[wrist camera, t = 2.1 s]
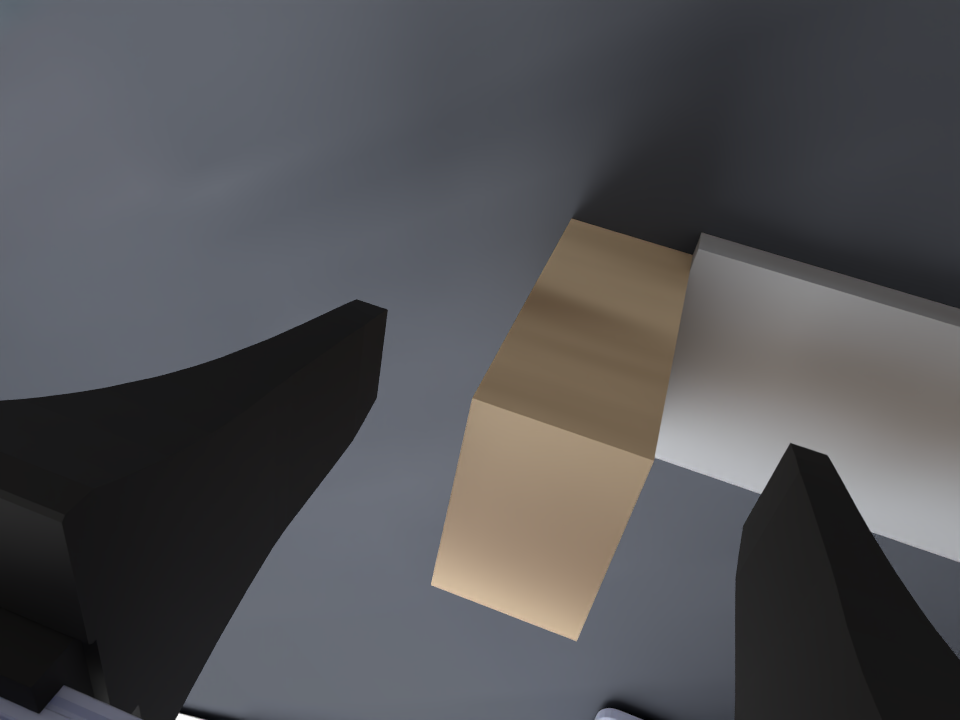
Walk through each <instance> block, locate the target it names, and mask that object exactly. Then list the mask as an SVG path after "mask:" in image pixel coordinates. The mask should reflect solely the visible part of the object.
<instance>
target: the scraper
mask: <svg viewBox="0 0 960 720" xmlns="http://www.w3.org/2000/svg"><path fill="white" fill-rule="evenodd" d="M790 443H792V444H796V445H799V446H802V447H805V448H808V449H811V450H814V451H817V452H820V453H823V454H826V455H828V457H829V458H830V460H831V462H832V463H833V465H834V467H835V469H836V470H837V472H838V474H839V476H840V478H841V479H842V481H843V483H844V485H845V487H846V489H847V490H848V492H849V494H850V496H851V498H852V499H853V501H854V503H855V505H856V507H857V508H858V510H859V512H860V514H861V516H862V517H863V519H864V521H865V523H866V524H867V526H868V528H869V529H870V531H871V532H873V533H876V534H879V535H882V536H885V537H888V538H891V539H893V540H896V541H899V542H902V543H905V544H908V545H911V546H914V547H917V548H920V549H923V550H926V551H928V552H931V553H934V554H937V555H940V556H943V557H946V558H949V559H952V560H955V561H958V562H960V309H958V308H955V307H951V306H948V305H945V304H941V303H938V302H935V301H931V300H928V299H924V298H921V297H918V296H914V295H911V294H908V293H904V292H901V291H897V290H894V289H891V288H887V287H884V286H881V285H877V284H874V283H870V282H867V281H864V280H860V279H857V278H854V277H850V276H847V275H843V274H840V273H837V272H833V271H830V270H827V269H823V268H820V267H816V266H813V265H810V264H806V263H803V262H800V261H796V260H793V259H789V258H786V257H783V256H779V255H776V254H773V253H769V252H766V251H762V250H759V249H756V248H752V247H749V246H746V245H742V244H739V243H735V242H732V241H729V240H725V239H722V238H719V237H715V236H712V235H708V234H705V233H702V232H701V235H700V238H699V240H698V243H697V245H696V248H695V251H694V253H693V255H691V254H688V253H684V252H681V251H678V250H674V249H671V248H668V247H664V246H661V245H658V244H654V243H651V242H648V241H644V240H641V239H638V238H634V237H631V236H628V235H625V234H621V233H618V232H615V231H611V230H608V229H605V228H601V227H598V226H595V225H591V224H588V223H585V222H581V221H578V220H575V219H571V220H570V222H569V224H568V226H567V228H566V229H565V231H564V233H563V235H562V237H561V238H560V240H559V242H558V244H557V246H556V247H555V249H554V251H553V253H552V255H551V257H550V258H549V260H548V262H547V264H546V266H545V267H544V269H543V271H542V273H541V275H540V276H539V278H538V280H537V282H536V284H535V286H534V287H533V289H532V291H531V293H530V295H529V296H528V298H527V300H526V302H525V304H524V305H523V307H522V309H521V311H520V313H519V315H518V316H517V318H516V320H515V322H514V324H513V325H512V327H511V329H510V331H509V333H508V334H507V336H506V338H505V340H504V342H503V344H502V345H501V347H500V349H499V351H498V353H497V354H496V356H495V358H494V360H493V362H492V363H491V365H490V367H489V369H488V371H487V373H486V374H485V376H484V378H483V380H482V382H481V383H480V385H479V387H478V389H477V391H476V392H475V394H474V396H473V398H472V402H471V407H470V411H469V416H468V420H467V425H466V429H465V434H464V438H463V443H462V447H461V452H460V456H459V461H458V465H457V470H456V474H455V479H454V483H453V488H452V492H451V497H450V501H449V506H448V510H447V515H446V519H445V524H444V528H443V533H442V537H441V542H440V546H439V551H438V555H437V560H436V564H435V569H434V573H433V578H432V582H431V585H432V586H435V587H438V588H440V589H443V590H445V591H448V592H451V593H453V594H456V595H458V596H461V597H464V598H466V599H469V600H471V601H474V602H476V603H479V604H482V605H484V606H487V607H489V608H492V609H495V610H497V611H500V612H502V613H505V614H508V615H510V616H513V617H515V618H518V619H521V620H523V621H526V622H528V623H531V624H533V625H536V626H539V627H541V628H544V629H546V630H549V631H552V632H554V633H557V634H559V635H562V636H565V637H567V638H570V639H572V640H575V641H577V639H578V637H579V634H580V632H581V630H582V627H583V625H584V623H585V620H586V618H587V616H588V613H589V611H590V609H591V606H592V604H593V602H594V599H595V597H596V595H597V592H598V590H599V588H600V585H601V583H602V581H603V578H604V576H605V574H606V571H607V569H608V567H609V564H610V562H611V560H612V557H613V555H614V553H615V550H616V548H617V546H618V543H619V541H620V539H621V536H622V534H623V532H624V529H625V527H626V525H627V522H628V520H629V518H630V515H631V513H632V511H633V508H634V506H635V504H636V501H637V499H638V497H639V494H640V492H641V490H642V487H643V485H644V483H645V480H646V478H647V476H648V473H649V471H650V469H651V466H652V464H653V462H654V458H658V459H661V460H664V461H666V462H669V463H672V464H675V465H678V466H681V467H684V468H687V469H690V470H693V471H696V472H698V473H701V474H704V475H707V476H710V477H713V478H716V479H719V480H722V481H725V482H728V483H730V484H733V485H736V486H739V487H742V488H745V489H748V490H751V491H754V492H757V493H760V494H762V492H763V490H764V488H765V487H766V485H767V483H768V481H769V479H770V478H771V476H772V474H773V472H774V471H775V469H776V467H777V465H778V464H779V462H780V460H781V458H782V456H783V455H784V453H785V451H786V449H787V448H788V446H789V444H790Z"/></svg>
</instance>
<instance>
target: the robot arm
mask: <svg viewBox="0 0 960 720" xmlns="http://www.w3.org/2000/svg"><path fill="white" fill-rule="evenodd" d="M387 311H388V310H387V309H384V308H381V307H378V306H375V305H372V304H369V303H366V302H363V301H360V300H357V299H356V300H354V301H352V302H349V303H347V304H345V305H342V306H340V307H338V308H336V309H334V310H332V311H329V312H327V313H325V314H323V315H321V316H319V317H317V318H315V319H312V320H310V321H308V322H306V323H304V324H301V325H299V326H297V327H295V328H292V329H290V330H288V331H286V332H284V333H281V334H279V335H277V336H275V337H272V338H270V339H268V340H265V341H262V342H260V343H257V344H255V345H252V346H250V347H247V348H244V349H242V350H239V351H237V352H234V353H232V354H229V355H226V356H224V357H221V358H218V359H215V360H212V361H209V362H206V363H203V364H200V365H197V366H194V367H190V368H187V369H183V370H180V371H176V372H173V373H169V374H165V375H162V376H158V377H153V378H149V379H144V380H139V381H135V382H130V383H125V384H121V385H116V386H111V387H107V388H101V389H96V390H89V391H83V392H77V393H70V394H62V395H54V396H47V397H38V398H29V399H18V400H3V401H0V720H176V718H177V716H178V714H179V712H180V710H181V708H182V706H183V704H184V703H185V701H186V699H187V697H188V695H189V693H190V691H191V689H192V687H193V685H194V684H195V682H196V680H197V678H198V676H199V674H200V673H201V671H202V669H203V667H204V665H205V663H206V662H207V660H208V658H209V656H210V654H211V653H212V651H213V649H214V647H215V645H216V643H217V642H218V640H219V638H220V636H221V634H222V633H223V631H224V629H225V627H226V626H227V624H228V622H229V620H230V619H231V617H232V615H233V614H234V612H235V610H236V608H237V607H238V605H239V603H240V601H241V600H242V598H243V596H244V594H245V593H246V591H247V589H248V588H249V586H250V584H251V583H252V581H253V579H254V578H255V576H256V574H257V573H258V571H259V569H260V568H261V566H262V564H263V563H264V561H265V560H266V558H267V556H268V555H269V553H270V551H271V550H272V548H273V546H274V545H275V544H276V542H277V541H278V539H279V538H280V536H281V535H282V533H283V532H284V531H285V529H286V528H287V526H288V525H289V524H290V522H291V521H292V520H293V518H294V517H295V516H296V515H297V513H298V512H299V511H300V509H301V508H302V507H303V505H304V504H305V503H306V502H307V500H308V499H309V498H310V496H311V495H312V494H313V492H314V491H315V490H316V488H317V487H318V486H319V485H320V483H321V482H322V481H323V479H324V478H325V477H326V475H327V474H328V473H329V472H330V470H331V469H332V468H333V466H334V465H335V464H336V462H337V461H338V460H339V458H340V457H341V456H342V454H343V453H344V452H345V450H346V449H347V448H348V446H349V445H350V443H351V442H352V441H353V439H354V437H355V436H356V434H357V432H358V431H359V429H360V427H361V425H362V424H363V422H364V420H365V418H366V416H367V415H368V413H369V411H370V409H371V407H372V405H373V404H374V402H375V400H376V398H377V392H378V384H379V376H380V368H381V359H382V351H383V343H384V335H385V327H386V319H387ZM595 720H643V719H640V718H638V717H635V716H633V715H630V714H628V713H625V712H623V711H620V710H617V709H613V708H605V709H602V710H600V711H599V712H598V714H597V716H596V718H595ZM735 720H960V660H959V659H958V657H957V656H956V655H955V654H954V652H953V651H952V650H951V649H950V647H949V646H948V645H947V643H946V642H945V641H944V640H943V638H942V637H941V636H940V635H939V633H938V632H937V631H936V630H935V628H934V627H933V625H932V624H931V623H930V621H929V620H928V619H927V617H926V616H925V615H924V613H923V612H922V610H921V609H920V608H919V606H918V605H917V603H916V602H915V600H914V599H913V597H912V596H911V594H910V593H909V591H908V590H907V588H906V587H905V586H904V584H903V583H902V581H901V580H900V578H899V577H898V575H897V574H896V572H895V570H894V569H893V567H892V566H891V564H890V563H889V561H888V559H887V558H886V556H885V555H884V553H883V551H882V550H881V548H880V546H879V545H878V543H877V541H876V540H875V538H874V536H873V535H872V533H871V531H870V529H869V528H868V526H867V524H866V523H865V521H864V519H863V517H862V516H861V514H860V512H859V510H858V508H857V507H856V505H855V503H854V501H853V499H852V498H851V496H850V494H849V492H848V490H847V489H846V487H845V485H844V483H843V481H842V479H841V478H840V476H839V474H838V472H837V470H836V469H835V467H834V465H833V463H832V462H831V460H830V458H829V457H828V455H826V454H823V453H820V452H817V451H814V450H811V449H808V448H805V447H802V446H799V445H796V444H792V443H790V444H789V446H788V448H787V449H786V451H785V453H784V455H783V456H782V458H781V460H780V462H779V464H778V465H777V467H776V469H775V471H774V472H773V474H772V476H771V478H770V479H769V481H768V483H767V485H766V487H765V488H764V490H763V492H762V494H761V495H760V497H759V499H758V501H757V502H756V504H755V506H754V508H753V509H752V511H751V513H750V515H749V517H748V518H747V520H746V522H745V524H744V525H743V531H742V537H741V544H740V550H739V557H738V565H737V572H736V591H735Z"/></svg>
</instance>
